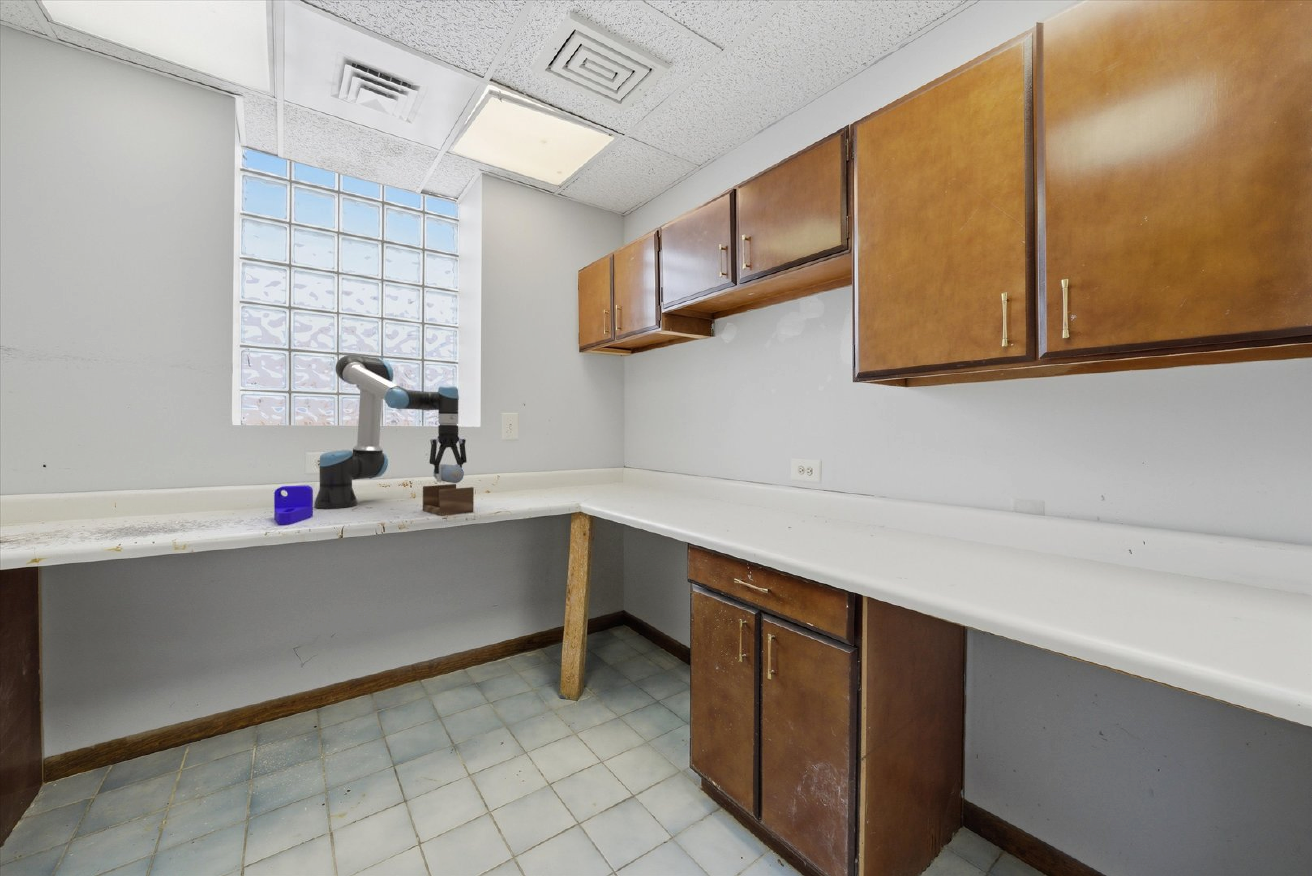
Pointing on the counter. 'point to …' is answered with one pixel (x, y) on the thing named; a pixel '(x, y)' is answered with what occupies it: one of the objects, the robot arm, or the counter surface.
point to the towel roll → (450, 473)
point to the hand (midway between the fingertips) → (448, 481)
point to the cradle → (447, 499)
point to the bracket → (293, 504)
